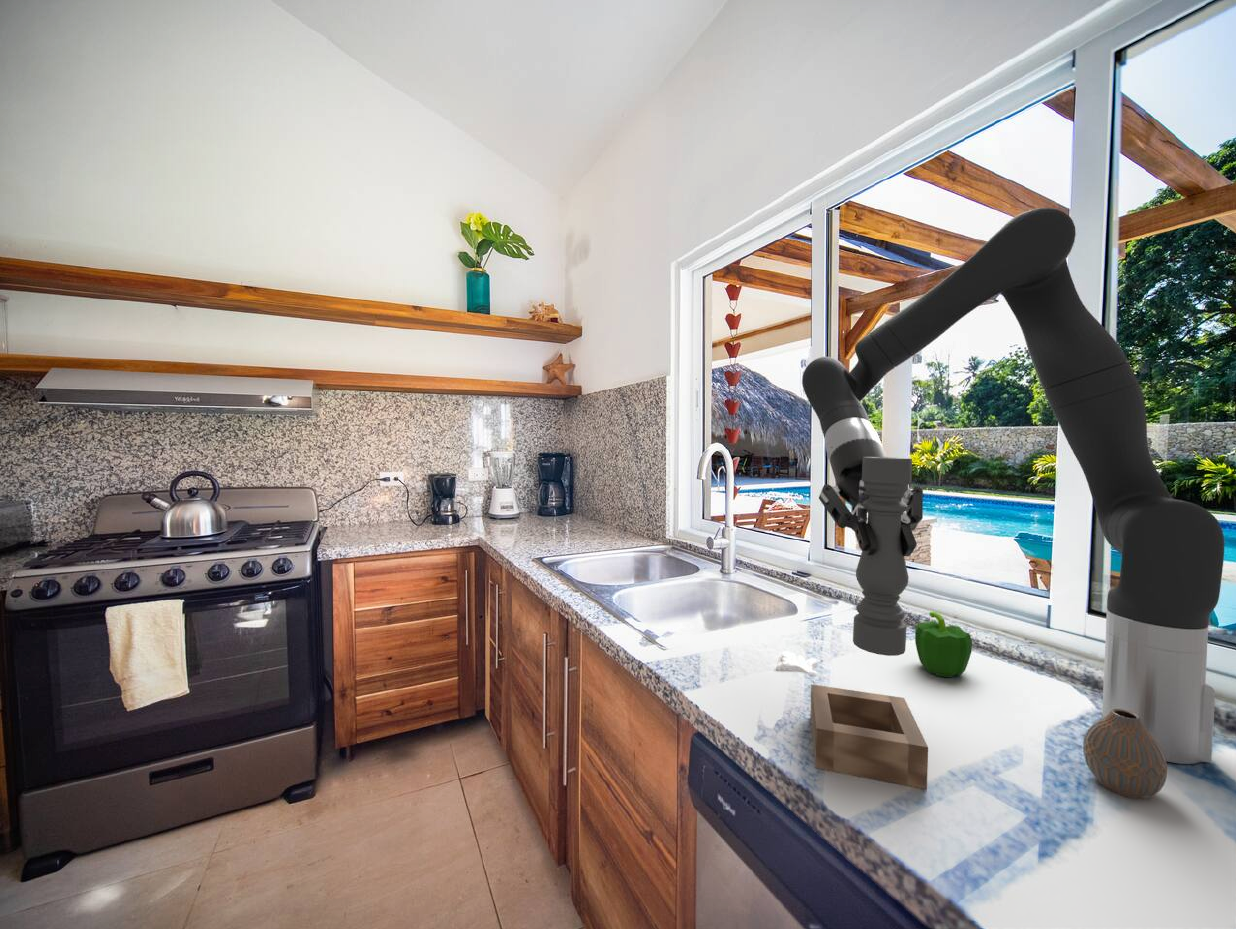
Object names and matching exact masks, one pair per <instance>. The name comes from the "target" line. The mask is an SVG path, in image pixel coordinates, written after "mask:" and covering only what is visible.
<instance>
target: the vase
mask: <svg viewBox="0 0 1236 929" xmlns="http://www.w3.org/2000/svg"><path fill="white" fill-rule="evenodd" d="M1082 742H1083V743H1082V748H1083V749H1082V751H1083V757H1084V761H1085V764H1086V766H1087V767H1088V770H1089V771H1090V772H1091V774H1092V775H1093V777H1095V779H1096V780H1097V781H1098V782H1099V783H1100V784H1101V785H1103V786H1104V787H1105V788H1107V789H1108V790H1110V791H1112V792H1113V793H1117V794H1119V795H1122V796H1125V797H1128V798H1133V799H1147V798H1150V797H1152V796H1154V795H1156V794H1158V793H1159V792H1160V791H1161V790H1162V789H1163V787H1164V786H1165V784H1166V782H1167V776H1168V764H1167V761H1166V759H1165V756H1164V753H1163V751H1162V749H1161V747H1160V745H1159V744H1158V742H1157V741H1156V740H1155V739H1154V737H1153V736H1152V735H1151V734H1150V733H1149V731H1148V730H1147V729H1146V728H1145V726H1144V725H1143V723H1142V721H1141V719H1140V717H1139V716H1138V715H1136V714H1134V713H1132V712H1129V711H1126V710H1122V709H1112V710H1111V711H1110V712H1109V714H1108V715H1107V716H1105V717H1104V718H1101V719H1099V720H1097V721H1095V722H1093V724H1091V726H1089V727H1088V729H1087V730H1086V733H1085V734H1084V736H1083V741H1082Z"/></svg>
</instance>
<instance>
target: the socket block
mask: <svg viewBox="0 0 1236 929" xmlns="http://www.w3.org/2000/svg"><path fill="white" fill-rule="evenodd" d="M809 717H810V718H809V719H810V727H811V736H812V745H813V746H812V747H813V755H814V764H815V768H816V769H819V770H824V771H825V770H826V771H828V772H829V771H830V772H833V773H841V774H845V775H851V776H854V777H860V778H865V779H871V780H876V781H881V782H885V783H891V784H896V785H902V786H905V787H907V786H908V787H911V786H912V787H913V788H916V787H917V789H922V788H923V790H927V789H928V765H929V759H928V758H929V746H928V744H927V741H926V740H925V738H924V735H923V734H922V732H921V730H920V727H919V726H918V724H917V722H916V720H915V717H914V716H913V713H912V711H911V709H910V706H909V705H908V703H907V701H906V698H905V697H900V696H895V695H894V696H893V695H889V694H888V695H887V694H881V693H873V692H866V691H859V690H851V689H846V688H840V687H839V688H837V687H833V686H825V685H819V684H812V683H811V684H810V716H809Z"/></svg>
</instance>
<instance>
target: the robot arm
mask: <svg viewBox="0 0 1236 929" xmlns="http://www.w3.org/2000/svg"><path fill="white" fill-rule="evenodd" d="M1076 234H1077V233H1076V225H1075V223H1074V221H1073V219H1072V217H1071V216H1070V215H1068V213H1066V212H1064V211H1062V210H1060V209H1058V208H1052V207H1039V208H1033V209H1030V210H1026V211H1024V212H1021V213H1019V214H1017V215H1015V216H1013V217H1012V218H1010V220H1008V221H1007V222H1006V223H1004V225H1003V226H1001V227H1000V229H999V230H998V231H997V232H996V233H995V234H993V235H992V236H991V238H989V239H988V240H987V241H986V242H985V243H984V244H983V245H982V246H981V247H980V248H979V249H978V250H976V251H975V253H974V254H972V255H971V256H970V257H969V258H968V259H967V260H965V262H964V263H962V264H961V265H960V266H959V267H957V268H956V269H955V270H954V271H953V272H951V273H950V274H949V275H948V276H946V277H945V278H944V279H942V280H941V281H940V282H939V283H938V284H936V285H935V286H933V287H932V288H931V289H929V290H928V291H927V292H926V293H924V294H923V295H921V296H920V297H919V298H917V299H916V300H914V301H913V302H911V303H910V304H909V305H907V306H906V307H904V308H903V309H901V310H900V311H898V312H897V313H896V314H895V315H893V316H891V317H890V318H889V319H887V320H885V321H884V322H883V323H882V324H879V326H877V327H876V328H875V329H873V330H872V331H871V332H869V333H868V334H866V335H865V336H864V337H861V339H859V341H858V342H857V343H855V346H854V352H855V356H856V357H857V362H856V364H855V365H854V366H853V368H851V370H850V371H849V370H848V369H847V368H846V366H844V364H843V363H842V362H840V360H838V359H837V358H834V357H832V356H821V357H817V358H816V359H814V360H812V361H811V362H810V363H809V364H808V365H807V366H806V367H805V369H804V371H803V374H802V378H801V384H802V388H803V392H804V395H805V396H806V398H807V400H808V402H809V404H810V405H811V407H812V409H813V411H814V412H815V414H816V416H817V418H818V420H819V425H820V428H821V431H822V434H823V439H824V442H825V451H826V456H827V459H828V461H829V463H830V467H831V471H832V473H833V477H834V481H835V483H836V485H834V486H832V485H830V484H823V486H822V489H821V490H820V493H819V496H818V500H819V501H820V502H821V504H822V506H823V507H824V508H825V509H826V511H827V512H828V514H829V515H830V517H831V518H832V520H833V521H834V522H835V524H836V525H837V526H838V527H839V528H841V529H845V528H849V529H851V530H852V531H853V532H854V534H855V537H856V540H857V544H858V547H859V549H860V551H861V552H862V551H865V554H866V555H873V554H874V552H875V551H876V549H877V544H876V541H875V538H874V535H873V532H872V529H871V526H870V523H868V512H867V510H866V509H865V508H864V507H863V502H864V501H866V500H868V499H869V495H868V494H867V491H866V489H865V488H864V482H863V481H862V462H863V457H888V456H887V454H886V452H885V448H884V447H883V445H882V442H881V440H880V437H879V435H878V433H877V431H876V430H875V429H874V427H873V424H872V422H871V420H870V418H869V415H868V413H867V410H866V408H865V407H864V405H863V404H862V403H861V402H862V401H863V400H864V398H866V396H867V395H868V394H869V393H870V392H871V391H872V390H873V389H874V388H875V387H876V386H877V385H878V383H879V382H881V380H882V379H883V378H884V377H885V376H886V375H887V374H888V373H889V372H890V371H892V370H894V369H895V368H897V367H899V366H900V365H901V364H903V363H905V362H906V361H907V360H909V359H910V358H912V357H913V356H915V355H917V354H918V353H919V352H920V351H922V350H923V349H924V348H926V347H927V346H928V345H930V344H932V342H934V341H936V339H938V338H939V337H940V336H942V334H944V333H946V331H947V330H949V329H950V328H951V327H952V326H954V325H955V324H956V323H958V322H959V321H960V320H961V319H963V318H964V317H965V316H966V315H968V314H970V313H971V312H972V311H974V310H975V309H977V308H978V307H979V306H981V305H982V304H984V303H986V302H987V301H988V300H990V299H992V298H994V297H996V296H997V295H999V294H1000V293H1001V295H1002V297H1003V299H1004V300H1005V301H1006V304H1007V305H1008V306H1009V309H1010V310H1011V311H1012V314H1014V317H1015V318H1016V321H1017V322H1018V325H1019V326H1020V329H1021V332H1022V334H1023V337H1024V338H1023V339H1024V341H1025V345H1026V348H1027V351H1028V353H1029V356H1030V360H1031V362H1032V365H1033V367H1034V371H1035V373H1036V375H1037V378H1038V381H1039V383H1040V386H1041V388H1042V390H1043V393H1044V396H1045V398H1046V400H1047V402H1048V404H1049V406H1050V409H1051V411H1052V413H1053V415H1054V417H1055V419H1056V420H1057V423H1058V424H1059V427H1060V428H1061V431H1062V433H1063V435H1064V437H1065V440H1066V441H1067V443H1068V445H1069V447H1070V449H1071V451H1072V453H1073V455H1074V456H1075V458H1076V460H1077V462H1078V464H1079V465H1080V467H1081V469H1082V471H1083V474H1084V477H1085V479H1086V482H1087V485H1088V489H1089V492H1090V495H1091V498H1092V502H1093V505H1094V508H1095V512H1096V516H1097V519H1098V522H1099V523H1098V524H1099V526H1100V529H1101V531H1102V534H1103V536H1104V538H1105V540H1106V541H1107V543H1108V545H1110V546H1111V547H1112V548H1113V549H1114V550H1116V552H1118V553H1119V554H1120V555H1121V559H1120V560H1121V562H1120V570H1119V571H1120V573H1119V580H1118V582H1117V584H1116V586H1115V587H1112V588H1111V589H1109V591H1108V593H1107V599H1106V604H1107V605H1106V620H1105V622H1106V623H1105V642H1104V643H1105V645H1104V664H1103V666H1104V667H1103V668H1104V669H1103V684H1102V685H1103V686H1102V687H1103V689H1102V708H1101V710H1102V711H1101V719H1102V718H1104V717H1105V716H1107V715H1108V714H1109V712H1110V711H1111V710H1112V709H1122V710H1126V711H1129V712H1132V713H1134V714H1136V715H1138V716H1139V717H1140V719H1141V721H1142V723H1143V725H1144V726H1145V728H1146V729H1147V730H1148V731H1149V733H1150V734H1151V735H1152V736H1153V737H1154V739H1155V740H1156V741H1157V742H1158V744H1159V745H1160V747H1161V749H1162V751H1163V753H1164V756H1165V759H1166V763H1167V762H1168V763H1175V764H1181V765H1182V764H1183V765H1194V764H1198V763H1212V758H1213V738H1214V722H1215V720H1214V718H1215V706H1216V705H1215V702H1216V700H1215V699H1216V690H1215V689H1214V687H1213V686H1211V685H1209V684H1208V683H1206V679H1207V678H1206V677H1207V662H1208V661H1207V659H1208V640H1209V638H1208V637H1209V636H1208V635H1209V624H1210V623H1209V620H1210V616H1211V613H1212V612H1213V611H1214V609H1215V608H1216V607H1217V605H1218V602H1219V598H1220V595H1221V586H1222V577H1223V567H1224V559H1225V538H1224V532H1223V528H1222V526H1221V524H1220V522H1219V520H1218V519H1217V518H1216V517H1215V516H1214V515H1213V514H1212V513H1211V512H1210V511H1208V510H1207V509H1206V508H1204V507H1202V506H1201V505H1199V504H1195V503H1193V502H1189V501H1185V500H1182V499H1176V498H1174V497H1173V496H1172V494H1171V493H1170V492H1169V491H1168V489H1167V487H1166V485H1165V484H1164V482H1163V480H1162V477H1161V476H1160V474H1159V473H1158V471H1157V469H1156V467H1155V464H1154V462H1153V460H1152V457H1151V455H1150V451H1149V445H1148V429H1147V428H1148V427H1147V425H1148V424H1147V410H1146V402H1145V397H1144V394H1143V391H1142V388H1141V385H1140V383H1139V380H1138V379H1137V377H1136V375H1135V373H1134V371H1133V369H1132V365H1131V364H1130V362H1129V360H1128V358H1127V356H1126V354H1125V353H1124V351H1123V349H1122V348H1121V346H1120V345H1119V344H1118V343H1117V341H1116V339H1114V337H1113V336H1112V334H1110V333H1109V331H1108V330H1107V329H1106V328H1105V327H1104V326H1103V325H1102V324H1101V322H1099V321H1098V319H1096V318H1095V316H1094V315H1093V314H1092V313H1091V312H1090V311H1089V310H1088V308H1087V307H1086V306H1085V304H1084V303H1083V301H1082V300H1081V297H1080V295H1079V293H1078V291H1077V288H1076V286H1075V283H1074V281H1073V278H1072V275H1071V273H1070V269H1069V266H1068V262H1067V258H1068V256H1069V255H1070V253H1071V251H1072V249H1073V247H1074V244H1075V240H1076ZM841 498H842V499H841ZM843 500H844V501H845V502H847V503H848V504H849V505H850V506H851V507H850V509H849V508H848V506H847V505H846V504H845V503H844V501H843ZM902 501H903V502H904V503H905V504H906V505H907V506H908V509H907V510H906V511H905V512H903V515H901V532H900V539H901V544H902V551H903V556H904V557H911V555H912V554H913V552H914V551H915V549H916V548H917V540H916V538H915V536H914V533H913V531H915V530H916V528H917V526H918V525H919V523H920V522H921V521H923V516H924V515H923V514H924V512H923V510H924V508H923V507H924V504H923V503H924V502H923V501H924V490H923V488H922V487H920V486H914V487H913V488H912V489H910V488H908V490H907V491H906V492H905V494H904V496H903V497H902Z"/></svg>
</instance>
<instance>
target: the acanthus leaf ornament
mask: <svg viewBox="0 0 1236 929" xmlns="http://www.w3.org/2000/svg"><path fill="white" fill-rule="evenodd" d="M820 663H821V660H820V659H817V658H815V657H811V658H807V659H806V660H805V658H804V656H802V655H800V654H798V655H796V654H795V653H794V652H792V651H788V650H783V651H782V654H781V662H778V663H777V665H776V668H775V669H776V671H778V672H779V671H785V672H786V671H788V672H802V673H805V674H808V675H809V676H811V677H818V676H819V674H818V672H817V671H815V670H813V669H814V668H817V667H818V666H819V664H820Z"/></svg>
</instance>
